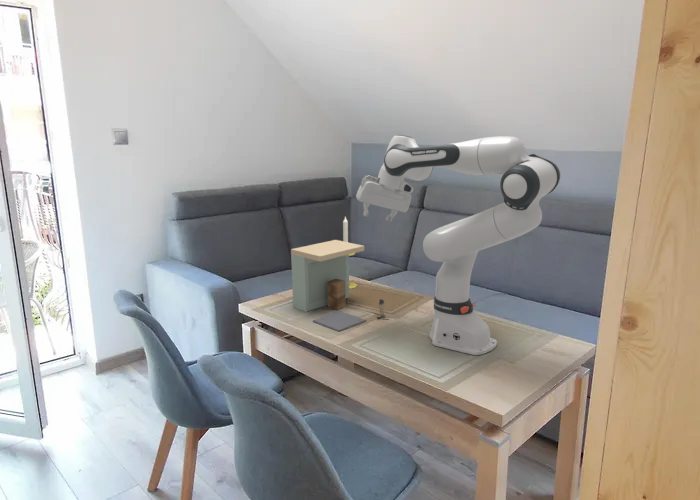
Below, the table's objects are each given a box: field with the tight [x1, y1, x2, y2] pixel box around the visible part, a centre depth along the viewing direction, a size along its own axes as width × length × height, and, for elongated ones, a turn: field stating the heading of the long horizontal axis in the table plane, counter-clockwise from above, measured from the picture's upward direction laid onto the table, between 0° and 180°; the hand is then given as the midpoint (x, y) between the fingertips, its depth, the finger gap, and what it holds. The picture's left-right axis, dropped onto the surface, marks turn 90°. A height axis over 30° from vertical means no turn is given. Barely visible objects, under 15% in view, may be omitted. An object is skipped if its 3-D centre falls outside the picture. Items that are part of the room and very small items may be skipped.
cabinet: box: [290, 239, 365, 313], centre depth 201 cm, size 17×24×24 cm
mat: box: [312, 310, 367, 333], centre depth 185 cm, size 14×14×1 cm
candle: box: [342, 215, 358, 290], centre depth 225 cm, size 10×10×32 cm
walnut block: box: [327, 279, 347, 311], centre depth 199 cm, size 5×5×11 cm
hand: (377, 218), depth 176 cm, fingers open, 8 cm apart
